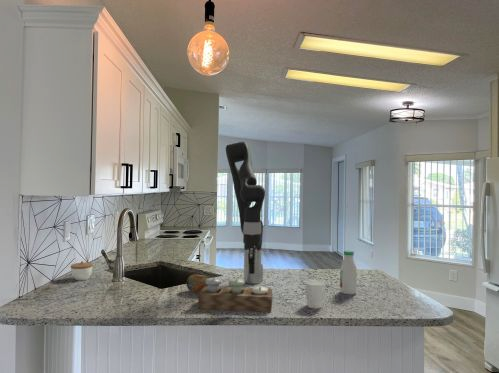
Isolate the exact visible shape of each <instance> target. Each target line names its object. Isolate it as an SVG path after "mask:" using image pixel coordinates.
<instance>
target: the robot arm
mask: <svg viewBox="0 0 499 373" xmlns="http://www.w3.org/2000/svg"><path fill="white" fill-rule="evenodd" d="M249 148H250V147H249V145H248V143H247V142H246V141H240V142H234V143H230V144H228V145H226V146H225V153H226V158H227V162H228V166H229V169H230V173H231V177H232V184H233V188H234V195H235V199H236V203H237V208H238V213H239V215H238V216H239V223H240V224H239V225H240V230H241V233H242V237H243V239H242V243H243V280H244V284H251V285H255V284H261V282H263V280H264V279H263V278H264V275H263V274H264V273H263V272H264V267H263V266H264V263H262V250H263V248H262V246H263V235H264V234H263V233H264V223H263V221H262V219H261V216H262V215H261V214H262V213H261V212H262V208H263V204H264V200H265V197H266V191H265V187H264V186H262V185H257V181H258V180H257V178H256V175H255V172H254V169H253V163H252V158H251V153H250V149H249ZM238 162H242V164H241V165H240V166H239V168H238V167H237V165H236V164H237V163H238ZM252 203H254V205H253V206H251V205H252Z"/></svg>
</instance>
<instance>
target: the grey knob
mask: <svg viewBox="0 0 499 373" xmlns="http://www.w3.org/2000/svg"><path fill="white" fill-rule="evenodd" d="M206 284H207V285H208V293H219V287H220V285H221V284H222V279H221V278H219V277H212V278H208V279H206Z"/></svg>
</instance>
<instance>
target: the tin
mask: <svg viewBox="0 0 499 373" xmlns="http://www.w3.org/2000/svg"><path fill="white" fill-rule="evenodd" d="M208 278H213V277H212V276H209V275H204V274H197V273H196V274H191V275H189V276H188V277H187V279H186V287H187V289H188V291H189V292H191V293H194V294H199V293H200V292H201V290H202V289H203V288H204V287H205V286H208V285H207V284H206V279H208Z"/></svg>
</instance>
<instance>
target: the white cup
mask: <svg viewBox="0 0 499 373" xmlns="http://www.w3.org/2000/svg"><path fill="white" fill-rule="evenodd" d="M325 284H326V283H325V282H324V281H323V280H322V281H321V280H315V279H314V280H307V281H305V296H306V306H307V307H308V308H310V309H314V310H315V309H316V310H318V309H322V308H323V307H324V300H325V299H324V298H325Z"/></svg>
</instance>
